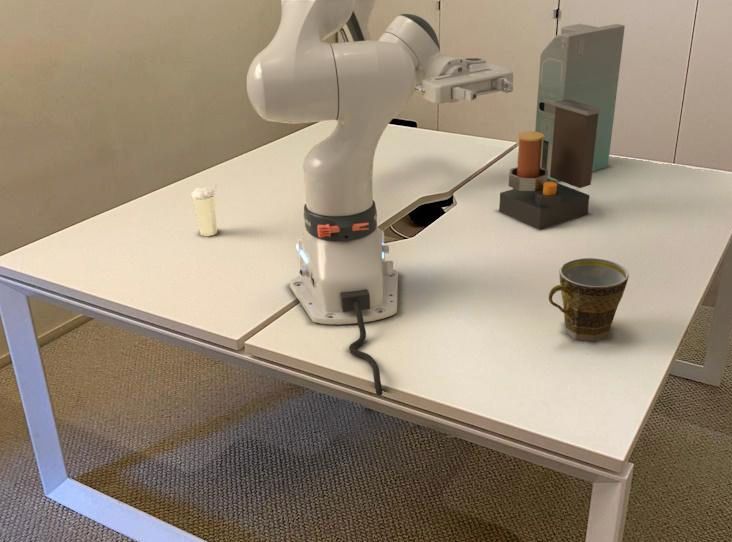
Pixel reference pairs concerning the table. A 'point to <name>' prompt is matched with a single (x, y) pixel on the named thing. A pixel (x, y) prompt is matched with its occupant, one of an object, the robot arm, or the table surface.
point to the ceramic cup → (590, 296)
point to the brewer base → (544, 205)
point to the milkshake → (205, 210)
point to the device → (580, 82)
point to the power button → (549, 188)
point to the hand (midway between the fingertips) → (492, 92)
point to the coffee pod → (529, 154)
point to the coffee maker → (567, 148)
